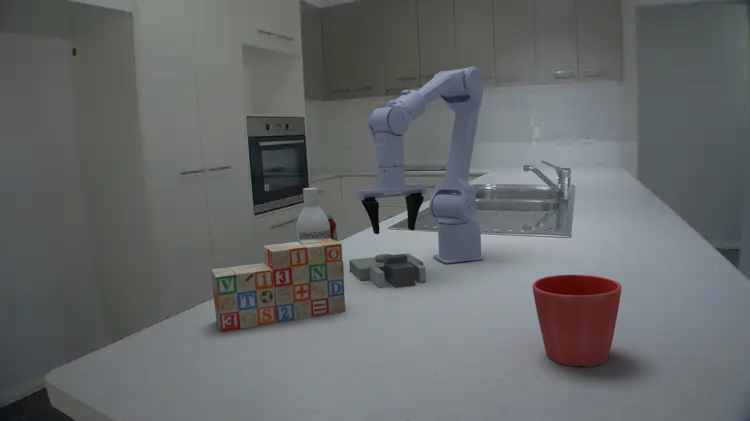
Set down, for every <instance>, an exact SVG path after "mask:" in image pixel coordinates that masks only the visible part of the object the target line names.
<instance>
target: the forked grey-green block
mask: <svg viewBox="0 0 750 421" xmlns="http://www.w3.org/2000/svg"><path fill="white" fill-rule="evenodd" d="M404 254H405V255H406V256H407V261H408V262H409V263H410V264H412V265H413V266H415V281H417V282H418V283H420V284H421V283H426V282H427V281H426V280H427V278H426V276H427V275H426V266H424V262H423V261H422V260H420V259H419V258H417V257H415V256H414V255H412V254H411V253H409V252H408V253H407V252H406V253H404ZM388 255H392V254H390V253H388V254H387V253H383V254H377V255H375V256H373V257H370V256H369V257H365V258H361V257H360V258H355V259H354V258H353V259H349V261H348V262H349V271H350V272H351V274H353V275H354V276H355V277H356V278H357V279H358V280H359V281H361V282H362V281H368V280H369V281H370V282H372V283H373V284H375V286H377V287H378V288H379V289H380V288H386V280H385V275H384V256H388Z"/></svg>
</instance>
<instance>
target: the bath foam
mask: <svg viewBox="0 0 750 421" xmlns="http://www.w3.org/2000/svg"><path fill="white" fill-rule="evenodd" d="M302 194H303V204H304V206H303V208H302V210H301V212H300V213H299V216H298V218H297V220H296V224H295V226H296V227H295V236H296V242H298V241H303V240H312V239H314V240H321V239H331V233H330V225H329V221H328V219H327V217H326V215H327V214H326V213H325V212H324V210H323V209H322V208H321V207H320V204H319V190H318V188H317V187H305V188H303V189H302Z"/></svg>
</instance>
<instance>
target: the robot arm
mask: <svg viewBox="0 0 750 421" xmlns="http://www.w3.org/2000/svg"><path fill="white" fill-rule="evenodd" d="M484 87H485V80H484V78H483V75H482V73H481V70H480V69H479V68H478V67H476V66H472V65H471V66H469V67H466V68H465V67H464V68H459V69H458V68H457V69H452V70H441V71H439V72H438V73H436V74H434V75H433V77H432V78H431V80H429V81H428V82H427V83H425V84H424V85H423V86H422V87H420V88H419V89H418V90H415V89H403V90H402V91H401V92H400V94H401V95H400V96H398V97H397V98H395V99H392V100H389V101H387V105H386V106H384V107H378V108H375V109H374V110H373V111H372V113H371V114H370V116H369V121H368V122H367V126H368V130H369V132H370V134H371V135H372V142H373V143H374V145H375V157H376V158H375V161H376V176H377V187H372V188H365V189H357V190H356V199H357V200H358V201H361V204H362V206H363V207H364V210H365V211H366V213H367V215H368V218H369V222H370V224H371V227H372V232H373V234H375V235H379V234H380V222H379V211H380V208H379V207H380V202H378V201H377V199H384V198H394V197H405V198H404V199H405V204H406V211H407V213H406V214H407V227H408V228H407V229H408V230H410V231H415V230H416V222H417V218H418V214H419V212H420V209H421V207H422V205H423V202H424V200H425V198H424V195H427V194H428V193H427V185H426V184H410V185H409V184H408V185H406V169H405V166H406V165H405V150H404V149H405V148H404V147H405V146H404V134H406V133H407V131H408V129H409V125H410V124H411V123H412V122H413V121H415V120H417V118H419V117H421V116H422V115H423V114H424V113H425V111H426V109H427V105H428V104H429V103H431V102H433V101H434V100H436V99H438V98H439V97H440V99H441V100H442V101H443V102H444V103H445V105H446V106H447V107H448V109H450V110H452V111H453V112H454V114H455V116H454V120H453V121H454V122H453V128H452V134H451V140H450V146H449V150H448V156H447V163H446V169H445V174H444V178H443V179H442V180H441V181H440V182H439V183H437V185H435V186H434V187H435V188H434V192H433V195H432V196H431V198H430V201H429V212H430V214H431V216H432V217H433V218H434V222H436V223H437V236H438V237H437V239H438V242H437V244H438V254H433V255H432V258H434V259H435V260H437V261H439V262H442V263H443V264H445V265H446V264H453V263H455V264H456V263H463V262H471V261H479V260H483V256H482V240H481V238H482V237H481V236H482V235H481V234H482V232H481V227H480V225H479V223H478V221H477V220H473V218H474V217H475V215H476V211H477V203H476V199H477V198H476V196H477V191H476V189H475V188H474V187H473V186H472V185H471V184H470V183H469V182H468V181H469V177H470V176H469V175H470V169H471V164H472V158H473V151H474V145H475V140H476V133H477V126H478V119H479V115H480V114H479V113H480V107H481V106H482V101H483V93H484V90H485V88H484Z"/></svg>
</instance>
